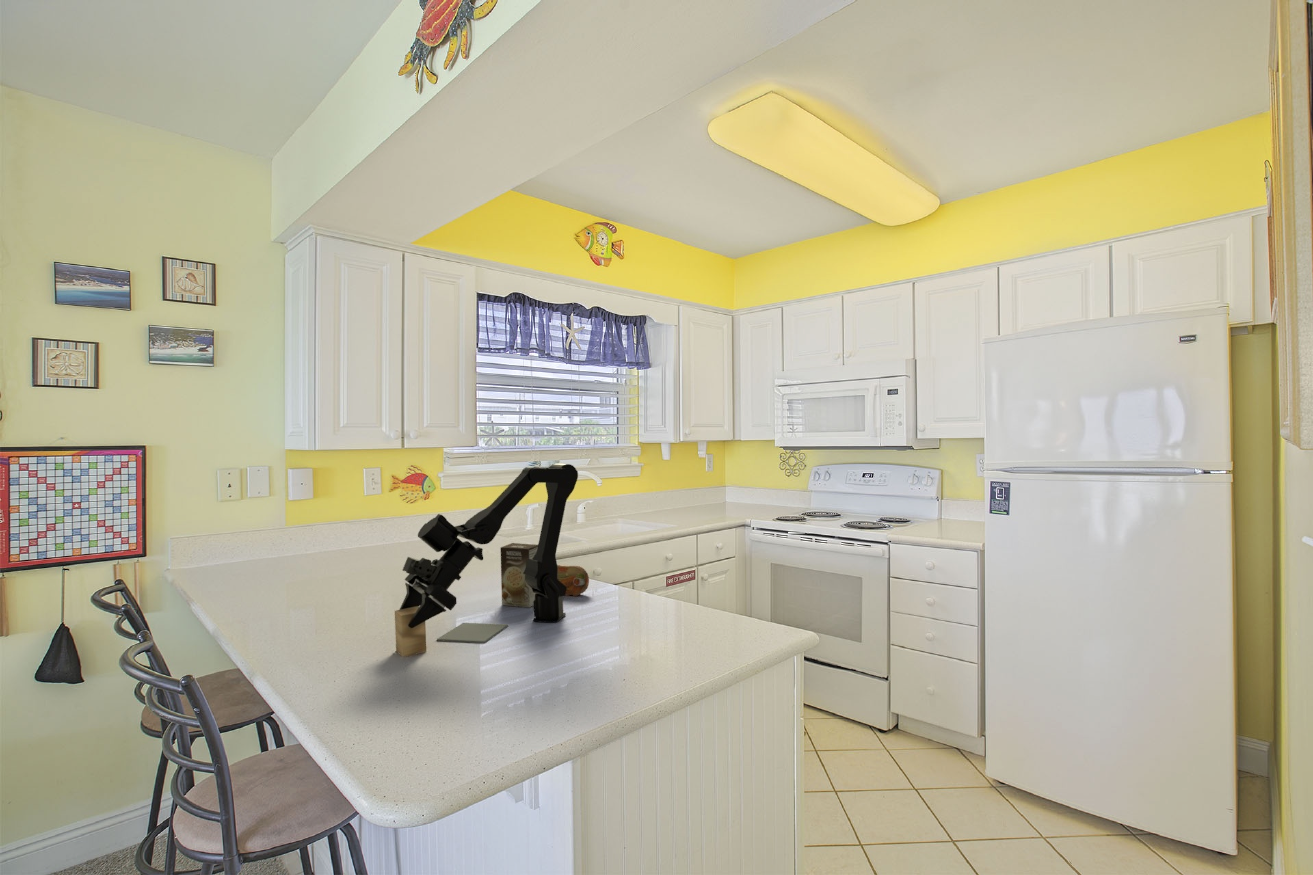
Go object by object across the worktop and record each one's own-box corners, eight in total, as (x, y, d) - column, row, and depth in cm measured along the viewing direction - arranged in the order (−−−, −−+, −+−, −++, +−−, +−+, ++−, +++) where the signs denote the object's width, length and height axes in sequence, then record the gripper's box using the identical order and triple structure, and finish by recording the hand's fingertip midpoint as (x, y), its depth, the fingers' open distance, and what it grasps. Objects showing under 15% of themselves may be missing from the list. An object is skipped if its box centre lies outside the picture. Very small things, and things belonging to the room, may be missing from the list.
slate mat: (508, 626, 156) (508, 624, 156) (484, 642, 144) (484, 641, 144) (463, 624, 159) (463, 622, 159) (436, 640, 147) (436, 638, 147)
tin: (539, 593, 186) (539, 564, 186) (545, 590, 189) (544, 562, 188) (585, 597, 180) (584, 567, 180) (590, 594, 183) (590, 565, 183)
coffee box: (500, 605, 174) (498, 547, 174) (513, 599, 180) (511, 542, 180) (530, 607, 171) (528, 548, 171) (542, 601, 177) (540, 543, 177)
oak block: (419, 645, 144) (417, 606, 144) (426, 651, 140) (424, 610, 140) (396, 651, 141) (394, 610, 141) (402, 657, 137) (401, 615, 137)
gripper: (412, 537, 150) (363, 593, 143) (439, 548, 135) (387, 611, 128) (446, 565, 155) (401, 620, 148) (477, 579, 140) (428, 640, 134)
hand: (403, 622), depth 140 cm, fingers open, 8 cm apart
